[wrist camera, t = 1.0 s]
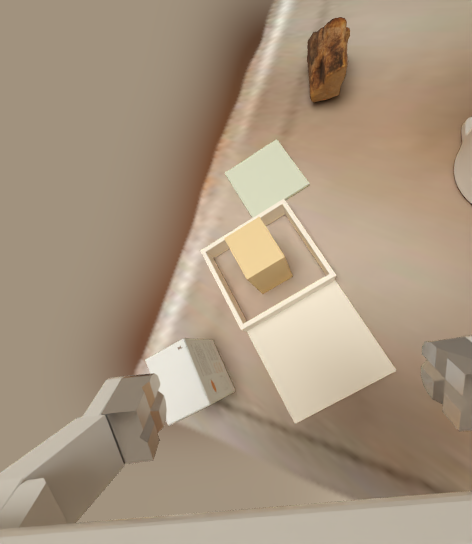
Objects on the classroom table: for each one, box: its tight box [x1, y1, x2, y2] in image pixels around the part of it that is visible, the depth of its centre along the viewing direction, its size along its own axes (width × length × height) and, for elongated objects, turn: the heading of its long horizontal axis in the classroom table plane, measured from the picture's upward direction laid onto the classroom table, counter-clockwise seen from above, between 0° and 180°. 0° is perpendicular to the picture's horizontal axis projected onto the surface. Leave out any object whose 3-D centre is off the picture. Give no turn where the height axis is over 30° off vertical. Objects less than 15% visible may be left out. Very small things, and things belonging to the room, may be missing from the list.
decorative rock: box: [307, 17, 350, 102], centre depth 44 cm, size 12×6×11 cm, turn 174°
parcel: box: [224, 217, 293, 294], centre depth 40 cm, size 5×6×10 cm
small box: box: [145, 338, 235, 425], centre depth 38 cm, size 8×6×10 cm
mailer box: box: [201, 199, 397, 424], centre depth 41 cm, size 14×26×4 cm, turn 28°
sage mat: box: [225, 139, 310, 218], centre depth 48 cm, size 10×10×1 cm
